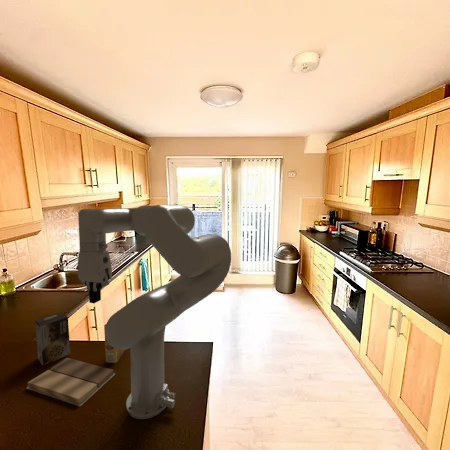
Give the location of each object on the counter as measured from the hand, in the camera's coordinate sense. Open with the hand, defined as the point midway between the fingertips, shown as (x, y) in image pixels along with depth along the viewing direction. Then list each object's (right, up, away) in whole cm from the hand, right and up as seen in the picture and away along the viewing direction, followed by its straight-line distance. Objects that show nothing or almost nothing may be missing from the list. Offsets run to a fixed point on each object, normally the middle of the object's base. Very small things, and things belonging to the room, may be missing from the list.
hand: (95, 301), depth 79 cm
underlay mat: (-7, -27, 0) cm, 28 cm away
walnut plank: (-6, -26, +3) cm, 27 cm away
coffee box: (-22, -26, +12) cm, 36 cm away
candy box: (+1, -26, +14) cm, 30 cm away
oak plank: (-8, -26, -4) cm, 28 cm away
